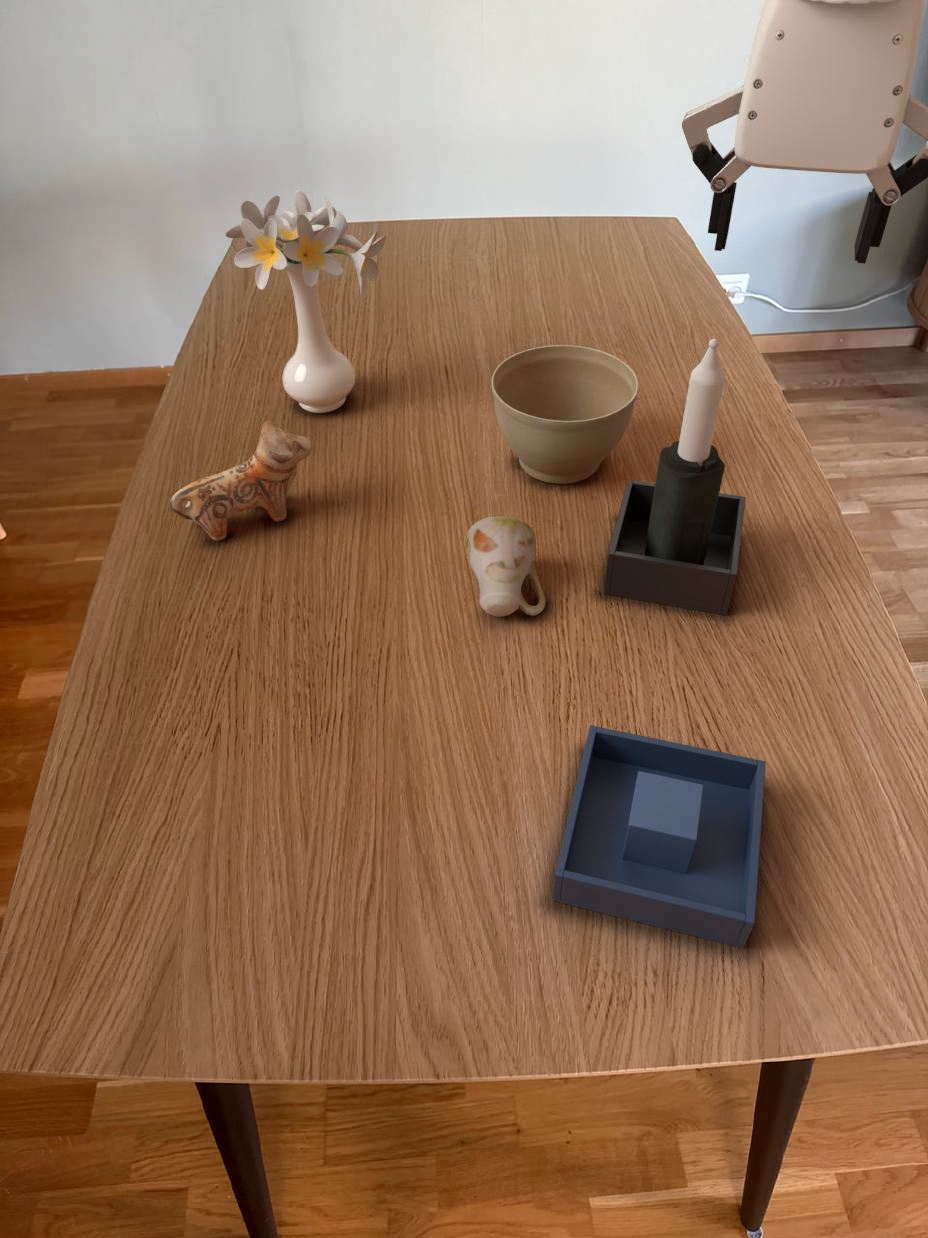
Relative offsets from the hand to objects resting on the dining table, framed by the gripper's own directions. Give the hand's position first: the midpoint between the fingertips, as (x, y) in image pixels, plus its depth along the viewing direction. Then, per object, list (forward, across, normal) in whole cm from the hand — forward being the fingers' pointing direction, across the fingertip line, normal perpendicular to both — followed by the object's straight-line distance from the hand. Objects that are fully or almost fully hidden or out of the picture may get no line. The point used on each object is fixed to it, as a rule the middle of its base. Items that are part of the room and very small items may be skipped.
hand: (789, 248), depth 66 cm
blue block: (+35, +1, +28) cm, 45 cm away
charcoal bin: (+36, +4, -5) cm, 36 cm away
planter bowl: (+36, +20, -20) cm, 45 cm away
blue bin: (+36, +1, +28) cm, 46 cm away
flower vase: (+35, +52, -26) cm, 67 cm away
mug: (+36, +20, +3) cm, 41 cm away
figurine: (+36, +50, 0) cm, 62 cm away
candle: (+35, +4, -5) cm, 36 cm away
